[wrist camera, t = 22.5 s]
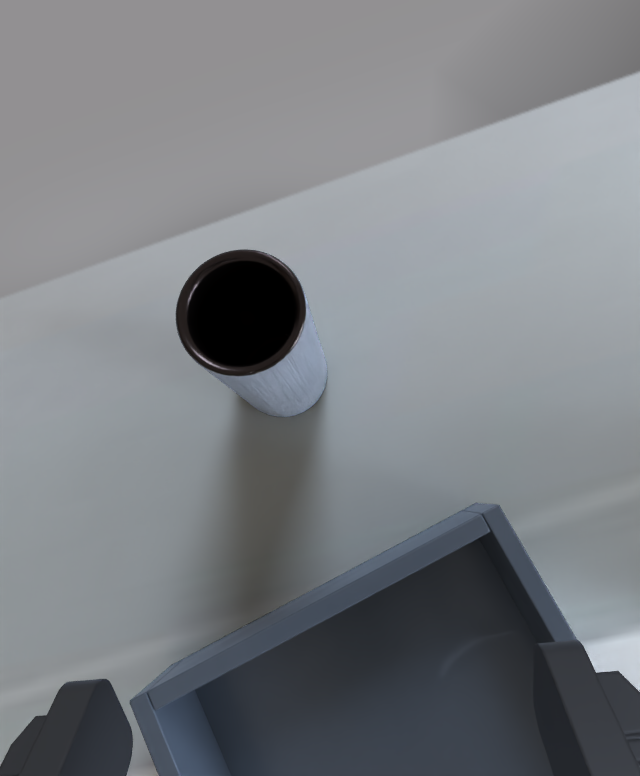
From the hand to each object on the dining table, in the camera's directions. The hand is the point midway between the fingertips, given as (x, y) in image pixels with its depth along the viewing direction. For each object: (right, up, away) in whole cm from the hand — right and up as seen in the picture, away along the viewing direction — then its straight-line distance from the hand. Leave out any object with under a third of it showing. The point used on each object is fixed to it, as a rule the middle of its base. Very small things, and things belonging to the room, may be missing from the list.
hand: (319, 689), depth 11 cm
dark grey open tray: (+4, -10, +15) cm, 19 cm away
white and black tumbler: (-2, +6, +19) cm, 20 cm away
